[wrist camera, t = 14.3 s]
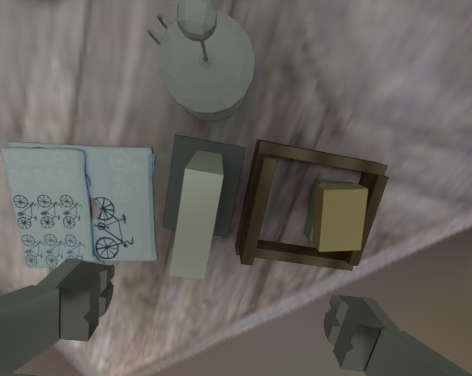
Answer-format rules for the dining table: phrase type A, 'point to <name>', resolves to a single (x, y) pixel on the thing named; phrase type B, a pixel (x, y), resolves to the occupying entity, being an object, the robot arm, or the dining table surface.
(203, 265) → the pale grey rectangular block
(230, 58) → the french press
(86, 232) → the light flat printed piece
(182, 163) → the pad
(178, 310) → the dining table surface
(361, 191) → the offcut upper
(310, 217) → the offcut lower
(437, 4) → the dining table surface
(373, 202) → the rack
